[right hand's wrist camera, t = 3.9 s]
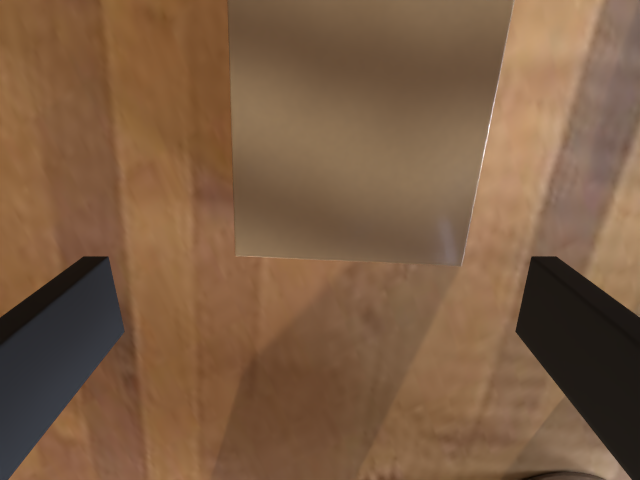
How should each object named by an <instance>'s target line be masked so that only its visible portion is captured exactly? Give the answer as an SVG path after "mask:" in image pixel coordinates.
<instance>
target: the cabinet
mask: <svg viewBox="0 0 640 480" xmlns="http://www.w3.org/2000/svg"><path fill="white" fill-rule="evenodd" d="M514 1H515V0H228V33H229V66H230V99H231V132H232V165H233V198H234V231H235V255H236V256H245V257H267V258H288V259H310V260H332V261H353V262H375V263H397V264H418V265H440V266H462V262H463V257H464V252H465V247H466V242H467V237H468V232H469V227H470V222H471V217H472V212H473V207H474V202H475V197H476V192H477V187H478V182H479V177H480V172H481V167H482V162H483V157H484V152H485V147H486V142H487V137H488V132H489V127H490V122H491V117H492V112H493V107H494V102H495V97H496V91H497V86H498V81H499V76H500V71H501V66H502V61H503V56H504V51H505V46H506V41H507V36H508V31H509V26H510V21H511V16H512V11H513V6H514Z"/></svg>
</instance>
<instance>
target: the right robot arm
mask: <svg viewBox="0 0 640 480" xmlns="http://www.w3.org/2000/svg"><path fill="white" fill-rule="evenodd" d="M124 332H125V331H124V326H123V322H122V317H121V313H120V308H119V303H118V299H117V294H116V289H115V285H114V280H113V276H112V271H111V266H110V262H109V257H82V258H81V259H80V260H78V261H77V262H76V263H74V264H73V265H71V266H70V267H69V268H67V269H66V270H65V271H63V272H62V273H61V274H59V275H58V276H56V277H55V278H54V279H52V280H51V281H50V282H48V283H47V284H46V285H44V286H43V287H41V288H40V289H39V290H37V291H36V292H35V293H33V294H32V295H31V296H29V297H28V298H26V299H25V300H24V301H22V302H21V303H20V304H18V305H17V306H16V307H14V308H13V309H11V310H10V311H9V312H7V313H6V314H5V315H3V316H2V317H0V480H8V479H9V478H10V477H11V475H12V474H13V473H14V471H15V470H16V469H17V468H18V466H19V465H20V464H21V463H22V461H23V460H24V459H25V457H26V456H27V455H28V454H29V452H30V451H31V450H32V449H33V447H34V446H35V445H36V443H37V442H38V441H39V440H40V438H41V437H42V436H43V435H44V433H45V432H46V431H47V430H48V428H49V427H50V426H51V424H52V423H53V422H54V421H55V419H56V418H57V417H58V416H59V414H60V413H61V412H62V410H63V409H64V408H65V407H66V405H67V404H68V403H69V402H70V400H71V399H72V398H73V396H74V395H75V394H76V393H77V391H78V390H79V389H80V388H81V386H82V385H83V384H84V383H85V381H86V380H87V379H88V377H89V376H90V375H91V374H92V372H93V371H94V370H95V369H96V367H97V366H98V365H99V363H100V362H101V361H102V360H103V358H104V357H105V356H106V355H107V353H108V352H109V351H110V349H111V348H112V347H113V346H114V344H115V343H116V342H117V341H118V339H119V338H120V337H121V335H122V334H123V333H124ZM515 332H516V333H517V334H518V335H519V337H520V338H521V339H522V341H523V342H524V343H525V344H526V346H527V347H528V348H529V349H530V351H531V352H532V353H533V355H534V356H535V357H536V358H537V360H538V361H539V362H540V363H541V365H542V366H543V367H544V369H545V370H546V371H547V372H548V374H549V375H550V376H551V377H552V379H553V380H554V381H555V383H556V384H557V385H558V386H559V388H560V389H561V390H562V391H563V393H564V394H565V395H566V396H567V398H568V399H569V400H570V402H571V403H572V404H573V405H574V407H575V408H576V409H577V410H578V412H579V413H580V414H581V416H582V417H583V418H584V419H585V421H586V422H587V423H588V424H589V426H590V427H591V428H592V430H593V431H594V432H595V433H596V435H597V436H598V437H599V438H600V440H601V441H602V442H603V443H604V445H605V446H606V447H607V449H608V450H609V451H610V452H611V454H612V455H613V456H614V457H615V459H616V460H617V461H618V463H619V464H620V465H621V466H622V468H623V469H624V470H625V471H626V473H627V474H628V475H629V477H630V478H631V479H632V480H640V317H638V316H637V315H635V314H634V313H633V312H631V311H630V310H629V309H627V308H626V307H624V306H623V305H622V304H620V303H619V302H618V301H616V300H615V299H614V298H612V297H611V296H609V295H608V294H607V293H605V292H604V291H603V290H601V289H600V288H599V287H597V286H596V285H594V284H593V283H592V282H590V281H589V280H588V279H586V278H585V277H584V276H582V275H581V274H579V273H578V272H577V271H575V270H574V269H573V268H571V267H570V266H569V265H567V264H566V263H564V262H563V261H562V260H560V259H559V258H558V257H531V262H530V266H529V271H528V276H527V280H526V285H525V289H524V294H523V299H522V303H521V308H520V313H519V317H518V322H517V326H516V331H515ZM527 480H605V479H602V478H600V477H597V476H593V475H590V474H584V473H576V472H561V473H551V474H545V475H541V476H537V477H533V478H530V479H527Z"/></svg>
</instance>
